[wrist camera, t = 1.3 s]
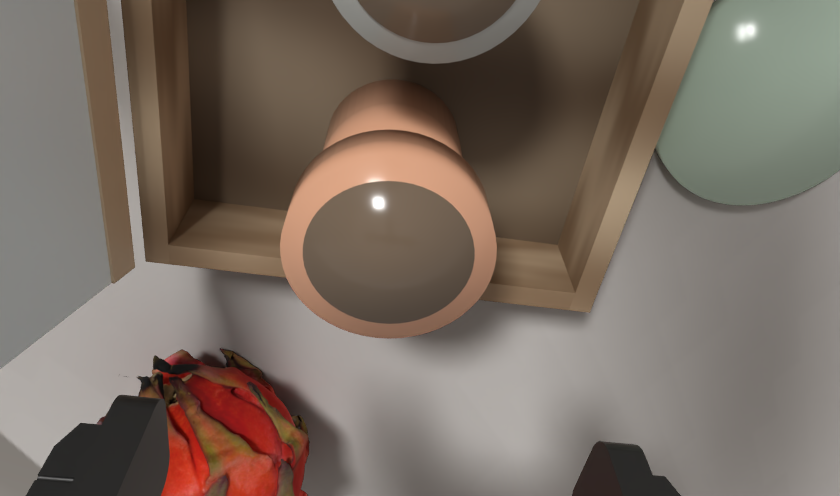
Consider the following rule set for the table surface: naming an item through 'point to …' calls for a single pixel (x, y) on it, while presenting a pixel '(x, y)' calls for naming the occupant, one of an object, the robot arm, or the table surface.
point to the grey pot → (435, 26)
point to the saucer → (758, 103)
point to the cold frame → (452, 82)
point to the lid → (57, 167)
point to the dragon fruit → (226, 429)
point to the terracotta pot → (389, 218)
